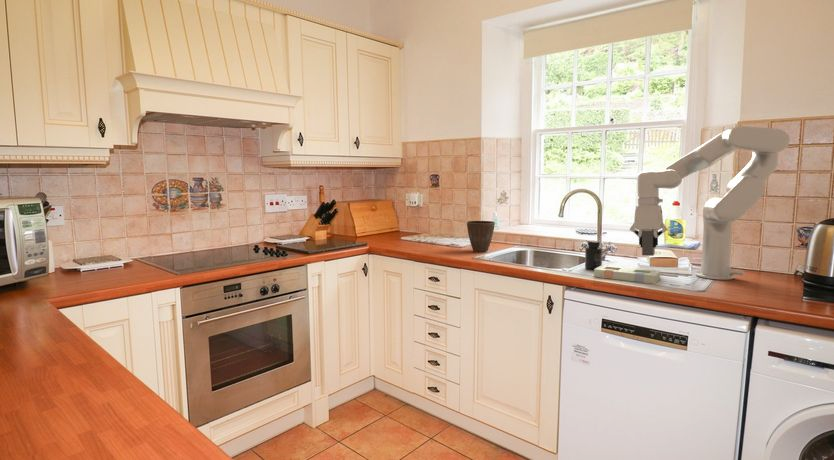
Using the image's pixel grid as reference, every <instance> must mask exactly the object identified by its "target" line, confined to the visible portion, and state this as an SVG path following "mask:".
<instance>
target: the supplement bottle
mask: <svg viewBox="0 0 834 460" xmlns="http://www.w3.org/2000/svg"><path fill="white" fill-rule="evenodd" d="M600 246H601V242H600V241H597V240H588V241H587V247H586V248H585V249H584V250H585V253H584V268H585V269H586V270H589V271H594V269H596V268H597V267H599V266H601V265H603V250H602V248H601V247H600Z"/></svg>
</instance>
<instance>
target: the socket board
mask: <svg viewBox="0 0 834 460" xmlns="http://www.w3.org/2000/svg"><path fill="white" fill-rule="evenodd" d="M661 274H662V270H657V269H646V268H637V267H629V266H628V267H625V266H618V265H617V266H616V265H606V264H602V265H601V266H599V267H597V268H596V269H594V270H593V277H594V278H600V279H601V278H603V279H609V280H610V279H611V280H621V281H626V282H628V281H629V282H636V283H644V282H645V284H654V285H655V284H657V282H658V281H660V279H661Z"/></svg>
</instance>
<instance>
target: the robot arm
mask: <svg viewBox="0 0 834 460" xmlns="http://www.w3.org/2000/svg"><path fill="white" fill-rule="evenodd" d="M790 142H791V138H790V135H789V134H788V133H787V131H785V130H783V129H780V128H773V127H772V128H771V127H759V126H747V125H746V126H745V125H737V126H734V127H730V128H728V129H725V130H724V131H722V132H720V133H719V134H717V135H716V136H714V137H713V138H711V139H710V140H707V141H706V142H705V143H703V144H701V145H700V146H699V147H696V148H695V149H694V150H692V151H690V152H689V153H688V154H686V155H684V156H682V157H680V159H678V160H676V161H674V162H672V163H671V164H669V165H667V166H666V167H664V168H663V169H661V170H659V171H656V170H655V171H654V170H649V171H646V170H645V171H640V172H639V173H638V174H637V205H636V206H635V211H634V220H633V224H632V225H631V226H630V228H629V231H631V232H632V233H634V234H635V235H636V236H637V238H638V245H639V246H640V248H642V231H643V230H653V232H654V238H653V247H654V248H655V249H656V247H657V246H659V237H660V236H661V235H662V234H663V233H665V232H667V231H668V228H667V226H666V224H664V219H663V217H664V216H663V210H662V205H661V203H663V202H664V201H663V200H664V199H663V198H660V196H659V193H660V192H659V191H660V190H659V189H666V190H670V189H671V190H672V189H675V188H677V187H679V185H681V184H682V181H683V179H684V178H686V177H689V175H692V174H694V173H697V172H699V171H702V170H705V169H707V168H709V167H711V166H713V165H715V164H716V163H718V162H719V161H721V160H723V159H724V158H725V157H727V156H729V155H730V154H732V153H734V152H736V151H737V150H744V151H745V150H746V151H751V152H752V157H751V158H750V160H749V162H748V163H747V164H746V165H745V167H743V168H742V169H741V170H740V171H739V173H736V175H735V176H734V177H733V178H731V180H730V181H729V182H728V183H727V184H726V189H725V190H726V193H725V195H724V196H714V197H712V198H709V199H708V200H707V201H706V202H705V204H704V205H703V209H702V219H703V230H702V231H703V232H702V235H703V236H702V245H701V246H702V250H701V261H700V270H699V271H696V273H695V275H696V276H697V277H699V278H703V279H709V280H716V281H717V280H718V281H719V280H720V281H721V280H723V281H728V280H733V279H734V275H736V276H744V270H743V269H742V270H741V269H734V268H732V266H731V250H732V238H733V237H732V236H733V225H732V223H734V222H736V221H738V220H740V218H742V217H743V216H744V215H745V214H746V213H747V212H748V211H749V210H750V209H751V208H753V207H754V206H755V205H756V204H757V202H758V201H760V200H761V199H762V197H763V196H764V194H765V192H766V183H765V182H766V181H767V180H768V178H770V177H771V175H772V174H773V173H774V172H775V170H776V169H777V167H778V163H779V153H780V152H782V151H785V149H787V148H788V146H789V145H790ZM659 230H660V231H659Z"/></svg>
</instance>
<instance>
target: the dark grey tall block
mask: <svg viewBox="0 0 834 460" xmlns="http://www.w3.org/2000/svg"><path fill="white" fill-rule="evenodd" d="M653 238H654V232H653V230H643V231H642V247H641V255H642V256H651V257H653V256H655V254H656V247H655V248H654V247H653Z"/></svg>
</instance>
